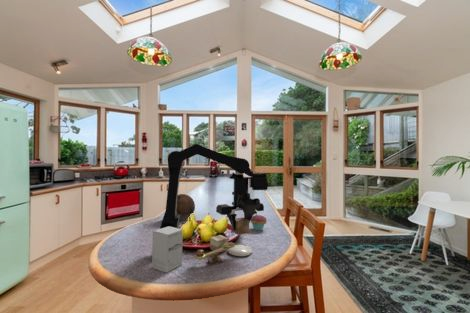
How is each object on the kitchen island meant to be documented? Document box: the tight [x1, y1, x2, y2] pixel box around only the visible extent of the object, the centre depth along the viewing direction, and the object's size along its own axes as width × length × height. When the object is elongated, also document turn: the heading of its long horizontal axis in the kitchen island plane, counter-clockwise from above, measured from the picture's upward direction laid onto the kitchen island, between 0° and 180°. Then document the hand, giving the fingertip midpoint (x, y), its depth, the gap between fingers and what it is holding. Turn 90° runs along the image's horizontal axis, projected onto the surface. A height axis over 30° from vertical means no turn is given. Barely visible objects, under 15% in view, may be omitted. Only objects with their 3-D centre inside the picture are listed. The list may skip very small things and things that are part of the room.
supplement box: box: [151, 226, 184, 273], centre depth 86 cm, size 7×7×13 cm
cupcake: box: [250, 209, 268, 231], centre depth 131 cm, size 9×8×12 cm
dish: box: [227, 244, 253, 257], centre depth 99 cm, size 10×10×1 cm
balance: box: [193, 241, 236, 266], centre depth 90 cm, size 16×4×6 cm, turn 118°
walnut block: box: [231, 216, 250, 236], centre depth 99 cm, size 5×5×5 cm
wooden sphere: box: [176, 193, 196, 221], centre depth 146 cm, size 15×15×15 cm
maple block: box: [209, 234, 229, 254], centre depth 102 cm, size 5×5×5 cm
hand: (240, 229), depth 99 cm, fingers closed on walnut block, 5 cm apart
